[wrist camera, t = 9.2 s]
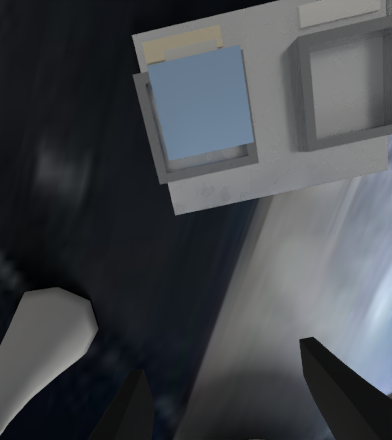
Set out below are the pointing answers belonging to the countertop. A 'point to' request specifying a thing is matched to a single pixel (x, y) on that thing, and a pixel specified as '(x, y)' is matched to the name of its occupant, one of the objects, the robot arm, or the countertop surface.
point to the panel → (284, 99)
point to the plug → (201, 99)
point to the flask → (41, 345)
